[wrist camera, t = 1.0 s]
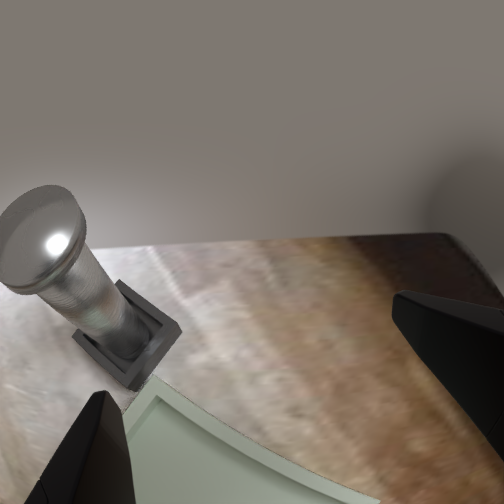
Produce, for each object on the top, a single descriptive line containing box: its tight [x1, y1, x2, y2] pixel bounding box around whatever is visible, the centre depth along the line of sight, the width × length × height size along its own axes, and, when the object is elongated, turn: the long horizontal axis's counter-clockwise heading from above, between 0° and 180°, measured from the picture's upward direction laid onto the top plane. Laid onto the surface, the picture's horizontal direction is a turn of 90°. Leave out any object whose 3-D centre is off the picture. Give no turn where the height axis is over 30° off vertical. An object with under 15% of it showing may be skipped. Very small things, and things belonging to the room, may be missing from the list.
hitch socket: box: [72, 279, 182, 392], centre depth 22 cm, size 6×6×2 cm
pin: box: [0, 185, 149, 359], centre depth 16 cm, size 5×5×14 cm
